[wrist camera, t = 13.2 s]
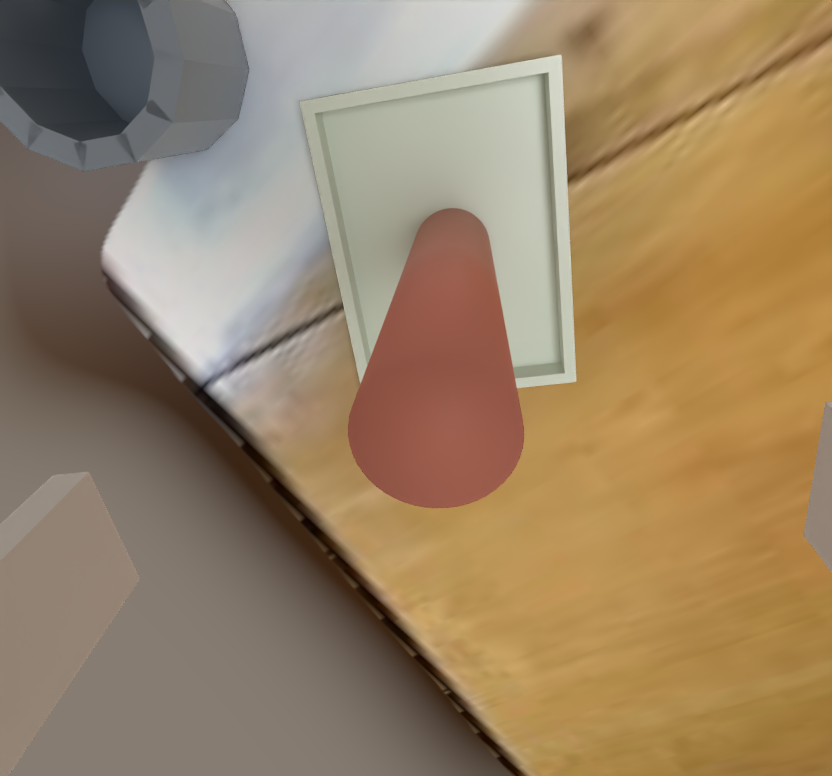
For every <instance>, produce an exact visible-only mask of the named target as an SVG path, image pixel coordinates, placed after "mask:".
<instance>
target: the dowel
mask: <svg viewBox="0 0 832 776" xmlns="http://www.w3.org/2000/svg"><path fill="white" fill-rule="evenodd" d="M348 437H349V443H350V447H351V450H352V454H353V456H354V458H355V460H356V462H357V464H358V466H359V467H360V469H361V470H362V472H363V473H364V474H365V475H366V477H367V478H368V479H369V480H370V481H371V482H372V483H373V484H374V485H375V486H376V487H378V488H379V489H380V490H382V491H383V492H385V493H386V494H388V495H390V496H392V497H393V498H395V499H398V500H400V501H402V502H405V503H408V504H412V505H415V506H420V507H426V508H450V507H457V506H461V505H465V504H469V503H472V502H474V501H477V500H479V499H481V498H483V497H485V496H487V495H488V494H490V493H491V492H493V491H494V490H496V489H497V488H498V487H499V486H500V485H501V484H503V483H504V481H505V480H506V479H507V478H508V477H509V476H510V474H511V473H512V471H513V470H514V468H515V467H516V465H517V463H518V460H519V458H520V455H521V452H522V449H523V442H524V425H523V419H522V414H521V408H520V403H519V398H518V392H517V387H516V381H515V376H514V370H513V365H512V360H511V354H510V349H509V343H508V338H507V332H506V327H505V322H504V316H503V311H502V305H501V300H500V294H499V289H498V284H497V278H496V273H495V267H494V262H493V256H492V251H491V246H490V240H489V236H488V232H487V230H486V228H485V226H484V225H483V223H482V222H481V221H480V220H479V219H478V218H477V217H476V216H475V215H473V214H472V213H470V212H468V211H466V210H463V209H458V208H448V209H443V210H440V211H437V212H435V213H433V214H432V215H430V216H429V217H428V218H427V219H426V220H425V221H424V222H423V223H422V224H421V226H420V228H419V230H418V232H417V234H416V237H415V240H414V242H413V245H412V248H411V250H410V253H409V256H408V258H407V261H406V264H405V266H404V269H403V272H402V274H401V277H400V280H399V282H398V285H397V288H396V290H395V293H394V296H393V298H392V301H391V304H390V306H389V309H388V312H387V315H386V317H385V320H384V323H383V325H382V328H381V331H380V333H379V336H378V339H377V341H376V344H375V347H374V349H373V352H372V355H371V357H370V360H369V363H368V365H367V368H366V371H365V373H364V376H363V379H362V381H361V384H360V387H359V389H358V392H357V395H356V398H355V400H354V403H353V406H352V409H351V412H350V416H349V423H348Z"/></svg>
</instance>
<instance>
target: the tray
mask: <svg viewBox="0 0 832 776" xmlns="http://www.w3.org/2000/svg"><path fill="white" fill-rule="evenodd" d="M299 102H300V107H301V112H302V116H303V121H304V125H305V130H306V135H307V139H308V144H309V149H310V153H311V158H312V162H313V167H314V172H315V176H316V181H317V186H318V190H319V195H320V200H321V204H322V209H323V213H324V218H325V223H326V227H327V232H328V237H329V241H330V246H331V250H332V255H333V260H334V264H335V269H336V274H337V278H338V283H339V287H340V292H341V297H342V301H343V306H344V311H345V315H346V320H347V325H348V329H349V334H350V338H351V343H352V348H353V352H354V357H355V362H356V366H357V371H358V375H359V380H360V384H361V381H362V379H363V376H364V373H365V371H366V368H367V365H368V363H369V360H370V357H371V355H372V352H373V349H374V347H375V344H376V341H377V339H378V336H379V333H380V331H381V328H382V325H383V323H384V320H385V317H386V315H387V312H388V309H389V306H390V304H391V301H392V298H393V296H394V293H395V290H396V288H397V285H398V282H399V280H400V277H401V274H402V272H403V269H404V266H405V264H406V261H407V258H408V256H409V253H410V250H411V248H412V245H413V242H414V240H415V237H416V234H417V232H418V230H419V228H420V226H421V224H422V223H423V222H424V221H425V220H426V219H427V218H428V217H429V216H430V215H432V214H433V213H435V212H437V211H440V210H443V209H448V208H458V209H463V210H466V211H468V212H470V213H472V214H473V215H475V216H476V217H477V218H478V219H479V220H480V221H481V222H482V223H483V225H484V226H485V228H486V230H487V232H488V236H489V240H490V246H491V251H492V256H493V262H494V267H495V273H496V278H497V284H498V289H499V294H500V300H501V305H502V311H503V316H504V322H505V327H506V332H507V338H508V343H509V349H510V354H511V360H512V365H513V370H514V376H515V381H516V387H517V388H524V387H533V386H542V385H551V384H561V383H570V382H576V364H575V342H574V319H573V297H572V275H571V253H570V231H569V208H568V186H567V164H566V142H565V120H564V97H563V75H562V54H561V55H556V56H550V57H544V58H539V59H533V60H528V61H522V62H517V63H511V64H505V65H500V66H494V67H489V68H483V69H477V70H472V71H466V72H461V73H455V74H450V75H444V76H438V77H433V78H427V79H422V80H416V81H410V82H405V83H399V84H394V85H388V86H383V87H377V88H371V89H366V90H360V91H355V92H349V93H343V94H338V95H332V96H327V97H321V98H316V99H310V100H304V101H299Z"/></svg>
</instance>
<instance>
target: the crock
mask: <svg viewBox="0 0 832 776" xmlns="http://www.w3.org/2000/svg"><path fill="white" fill-rule="evenodd" d="M248 72H249V67H248V63H247V59H246V55H245V51H244V47H243V42H242V38H241V34H240V30H239V26H238V22H237V18H236V14H235V13H234V12H233V10H232V9H231V8H230V7H229V5H228V4H227V3H226V2H225V0H0V122H1V123H2V124H3V125H4V126H5V127H6V128H7V129H8V130H9V131H10V132H11V133H12V134H13V135H14V136H15V137H16V138H17V139H18V140H19V141H20V142H21V143H22V144H23V145H24V146H25V147H26V148H27V149H28V150H31V151H33V152H36V153H39V154H41V155H43V156H46V157H49V158H51V159H54V160H56V161H59V162H61V163H64V164H66V165H69V166H71V167H74V168H76V169H79V170H81V171H89V170H95V169H101V168H107V167H113V166H119V165H125V164H130V163H137V162H142V161H147V160H153V159H158V158H164V157H169V156H174V155H180V154H185V153H190V152H196V151H201V150H207V149H208V148H209V147H210V146H211V145H212V144H213V143H214V142H215V141H216V140H217V139H218V138H219V137H220V136H221V135H222V134H223V133H224V132H225V131H226V130H227V129H228V128H229V127H230V126H231V125H232V124H233V123H234V122H235V121H236V120H237V119H238V117H239V112H240V108H241V104H242V99H243V95H244V90H245V86H246V81H247V77H248Z"/></svg>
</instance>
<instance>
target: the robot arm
mask: <svg viewBox="0 0 832 776" xmlns="http://www.w3.org/2000/svg"><path fill="white" fill-rule="evenodd" d="M804 537H805V538H806V539H807V540H808V542H809V543H810V544H811V546H812V547H813V548H814V550H815V551H816V552H817V554H818V555H819V556H820V558H821V559H822V560H823V562H824V563H825V564H826V566H827V567H828V568H829V570H830V571H831V572H832V402H826V403H825V408H824V415H823V421H822V427H821V433H820V439H819V445H818V451H817V457H816V463H815V469H814V475H813V482H812V488H811V494H810V500H809V506H808V512H807V518H806V524H805V530H804ZM139 580H140V578H139V576H138V574H137V572H136V570H135V568H134V565H133V564H132V561H131V559H130V557H129V555H128V553H127V551H126V549H125V547H124V544H123V542H122V540H121V538H120V536H119V534H118V532H117V530H116V528H115V526H114V524H113V522H112V519H111V517H110V515H109V513H108V511H107V509H106V507H105V505H104V503H103V500H102V498H101V496H100V494H99V492H98V490H97V488H96V486H95V484H94V482H93V480H92V478H91V475H90V473H89V472H82V473H72V474H61V475H53V476H52V477H51V478H50V479H48V480H47V481H46V482H45V483H44V484H43V485H42V486H41V487H40V488H39V489H38V490H37V491H36V492H34V493H33V494H32V495H31V496H30V497H29V498H28V499H27V500H26V501H25V502H24V503H23V504H22V505H20V506H19V507H18V508H17V509H16V510H15V511H14V512H13V513H12V514H11V515H10V516H9V517H8V518H6V519H5V520H4V521H3V522H2V523H1V524H0V776H8V775H9V774H10V772H11V771H12V769H13V768H14V766H15V765H16V763H17V762H18V760H19V759H20V757H21V756H22V754H23V753H24V751H25V750H26V748H27V747H28V745H29V744H30V743H31V741H32V739H33V738H34V737H35V735H36V734H37V732H38V731H39V729H40V728H41V726H42V725H43V723H44V722H45V720H46V719H47V717H48V716H49V714H50V713H51V711H52V710H53V708H54V707H55V705H56V704H57V702H58V701H59V699H60V698H61V696H62V695H63V693H64V692H65V690H66V689H67V687H68V686H69V684H70V683H71V681H72V680H73V678H74V677H75V675H76V674H77V672H78V671H79V669H80V668H81V666H82V665H83V663H84V662H85V660H86V659H87V657H88V656H89V654H90V653H91V651H92V650H93V648H94V647H95V646H96V644H97V643H98V641H99V640H100V638H101V637H102V635H103V634H104V632H105V631H106V629H107V628H108V626H109V625H110V623H111V621H112V620H113V619H114V617H115V616H116V614H117V612H118V611H119V609H120V608H121V607H122V605H123V604H124V602H125V601H126V599H127V598H128V596H129V595H130V593H131V592H132V590H133V589H134V587H135V586H136V584H137V583H138V581H139Z"/></svg>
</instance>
